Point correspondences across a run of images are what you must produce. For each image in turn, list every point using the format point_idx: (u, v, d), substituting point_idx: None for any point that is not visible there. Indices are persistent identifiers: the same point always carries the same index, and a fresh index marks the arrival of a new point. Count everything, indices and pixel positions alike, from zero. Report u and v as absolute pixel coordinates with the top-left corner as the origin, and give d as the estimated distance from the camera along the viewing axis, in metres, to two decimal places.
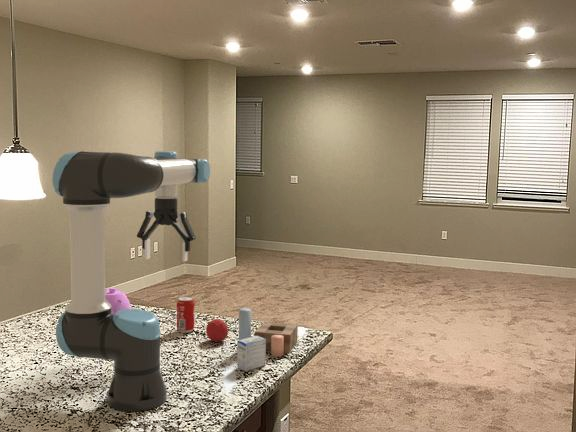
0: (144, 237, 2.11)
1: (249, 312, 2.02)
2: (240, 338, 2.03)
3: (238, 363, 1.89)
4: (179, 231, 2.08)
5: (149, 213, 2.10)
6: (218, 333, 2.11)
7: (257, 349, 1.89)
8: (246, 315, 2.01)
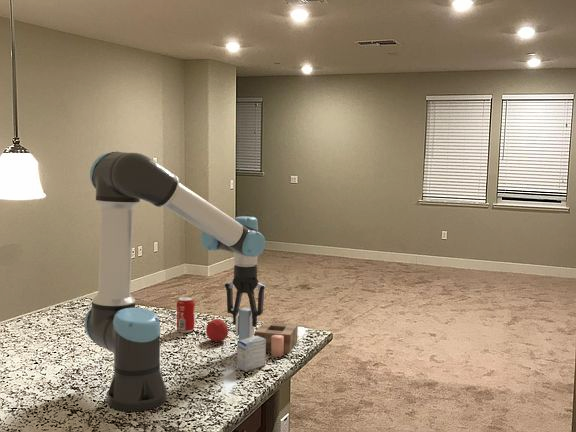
0: (235, 312, 2.03)
1: (249, 312, 2.02)
2: (240, 338, 2.03)
3: (238, 363, 1.89)
4: (251, 303, 2.01)
5: (228, 284, 2.02)
6: (218, 333, 2.11)
7: (257, 349, 1.89)
8: (246, 315, 2.01)
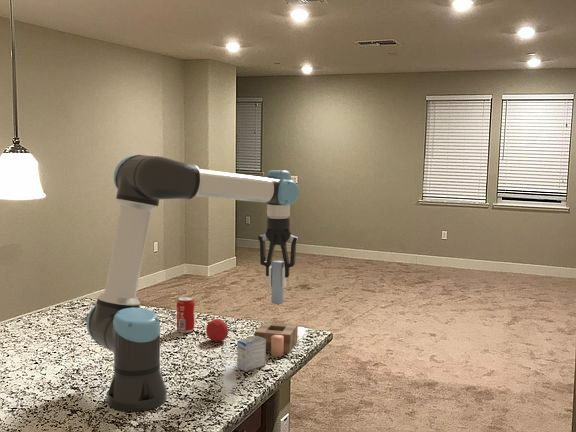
0: (268, 264, 2.08)
1: (282, 263, 2.07)
2: (273, 289, 2.08)
3: (238, 363, 1.89)
4: (284, 255, 2.06)
5: (261, 237, 2.08)
6: (218, 333, 2.11)
7: (257, 349, 1.89)
8: (279, 266, 2.06)
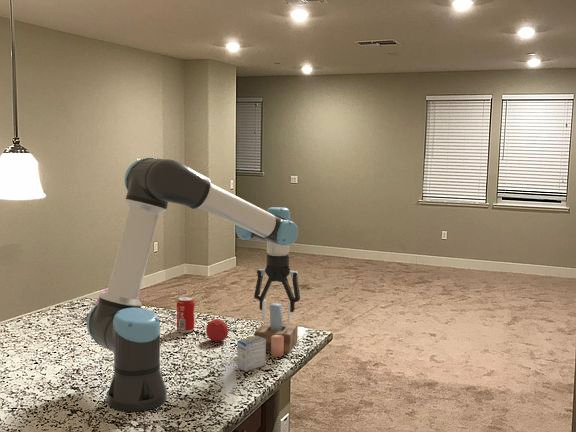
0: (261, 298, 2.10)
1: (280, 307, 2.09)
2: None
3: (238, 363, 1.89)
4: (287, 290, 2.07)
5: (260, 271, 2.09)
6: (218, 333, 2.11)
7: (257, 349, 1.89)
8: (277, 309, 2.08)
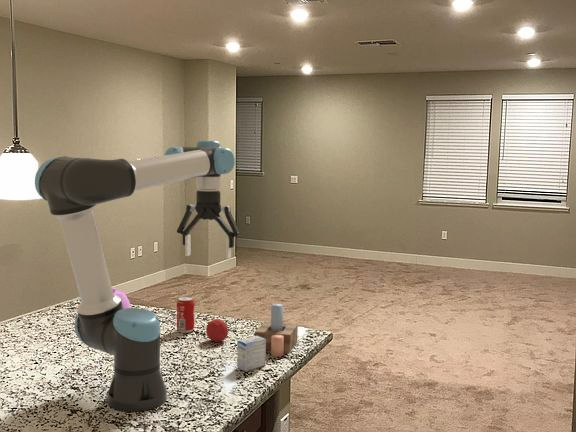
0: (185, 232, 1.98)
1: (281, 307, 2.09)
2: None
3: (238, 363, 1.89)
4: (223, 226, 1.95)
5: (190, 207, 1.97)
6: (218, 333, 2.11)
7: (257, 349, 1.89)
8: (278, 310, 2.08)
